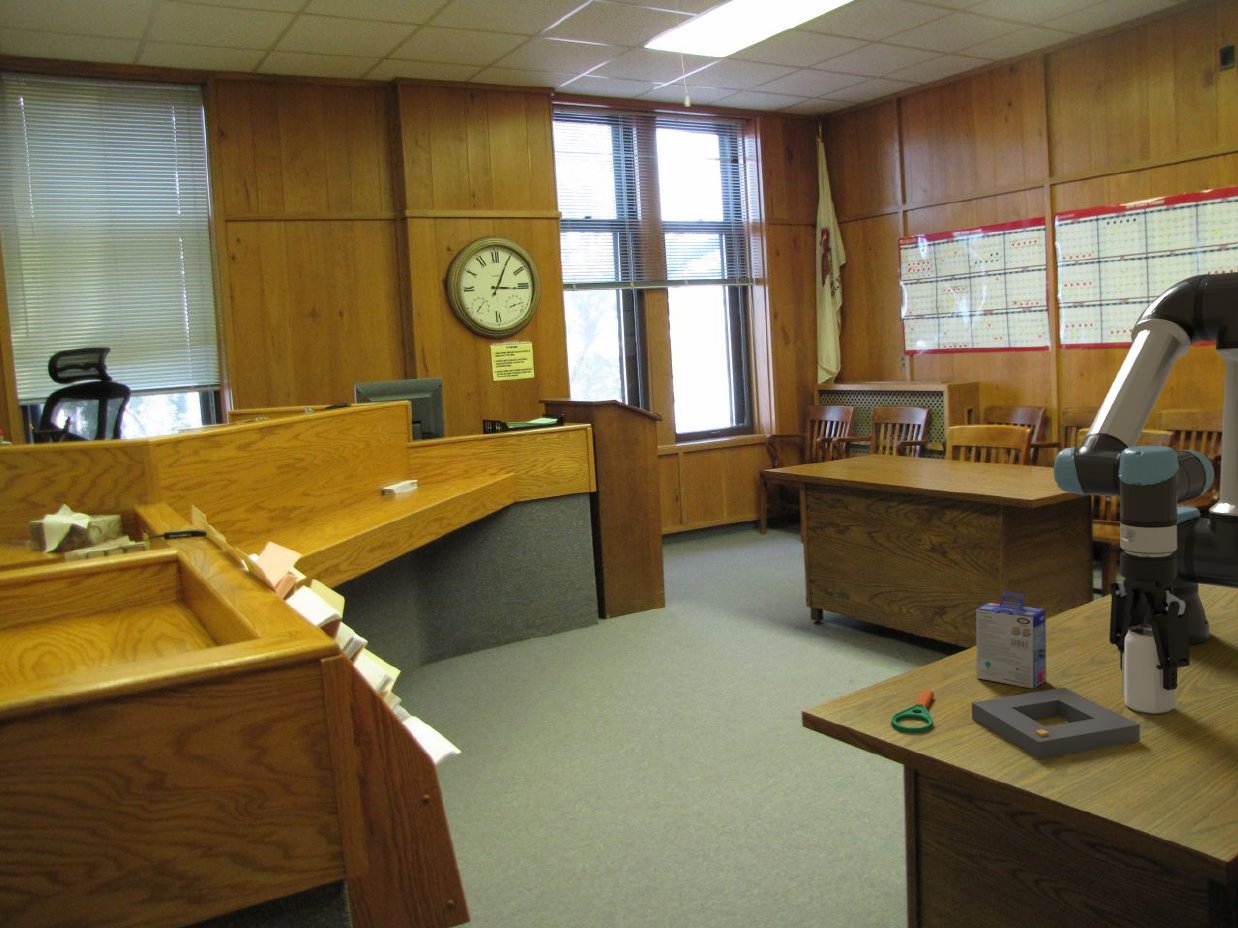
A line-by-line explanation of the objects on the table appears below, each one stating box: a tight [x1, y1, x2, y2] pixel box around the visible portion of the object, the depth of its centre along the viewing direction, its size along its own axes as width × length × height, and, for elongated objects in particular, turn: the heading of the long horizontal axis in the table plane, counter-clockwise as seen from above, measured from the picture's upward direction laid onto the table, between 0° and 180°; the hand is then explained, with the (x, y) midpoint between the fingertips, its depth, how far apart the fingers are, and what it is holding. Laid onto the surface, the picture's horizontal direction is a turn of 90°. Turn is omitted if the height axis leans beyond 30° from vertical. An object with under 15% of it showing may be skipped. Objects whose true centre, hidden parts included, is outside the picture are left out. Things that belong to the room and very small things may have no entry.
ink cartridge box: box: [975, 591, 1047, 690], centre depth 167 cm, size 10×6×14 cm, turn 46°
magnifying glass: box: [890, 689, 935, 734], centre depth 156 cm, size 15×6×2 cm, turn 152°
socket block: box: [971, 687, 1141, 760], centre depth 147 cm, size 16×16×3 cm
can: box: [1124, 625, 1172, 715], centre depth 153 cm, size 6×6×12 cm
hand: (1147, 700), depth 153 cm, fingers closed on can, 6 cm apart
